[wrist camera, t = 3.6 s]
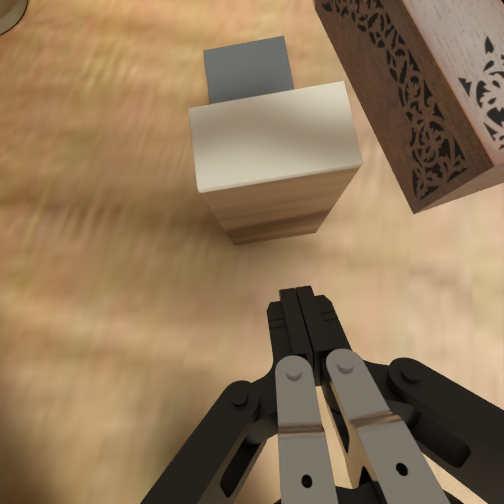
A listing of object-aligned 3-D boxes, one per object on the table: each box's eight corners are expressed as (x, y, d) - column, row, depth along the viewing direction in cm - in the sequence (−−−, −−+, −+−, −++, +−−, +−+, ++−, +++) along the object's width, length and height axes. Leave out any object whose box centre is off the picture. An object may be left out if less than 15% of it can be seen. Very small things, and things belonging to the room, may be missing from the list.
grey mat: (309, 172, 28) (309, 170, 27) (221, 186, 28) (220, 184, 28) (283, 40, 31) (283, 35, 30) (204, 54, 31) (203, 50, 31)
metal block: (315, 232, 27) (362, 163, 13) (234, 245, 27) (197, 189, 13) (307, 189, 28) (343, 80, 14) (228, 202, 28) (188, 108, 14)
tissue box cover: (314, 11, 31) (334, -121, 22) (434, -32, 31) (509, -184, 21) (412, 215, 27) (494, 166, 17) (553, 165, 27) (718, 87, 17)
